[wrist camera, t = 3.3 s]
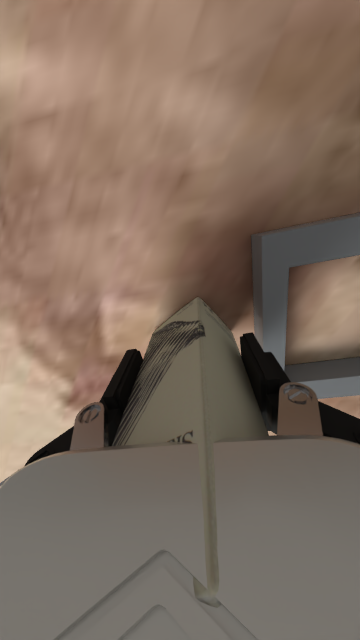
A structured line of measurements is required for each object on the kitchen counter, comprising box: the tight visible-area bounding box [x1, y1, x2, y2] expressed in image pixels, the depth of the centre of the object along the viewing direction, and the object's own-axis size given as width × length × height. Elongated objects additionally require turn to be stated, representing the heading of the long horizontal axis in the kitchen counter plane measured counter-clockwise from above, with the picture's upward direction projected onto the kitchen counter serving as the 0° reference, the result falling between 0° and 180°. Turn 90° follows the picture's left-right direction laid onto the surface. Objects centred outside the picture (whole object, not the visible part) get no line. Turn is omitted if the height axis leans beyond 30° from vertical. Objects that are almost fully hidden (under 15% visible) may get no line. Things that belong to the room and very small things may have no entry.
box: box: [112, 297, 269, 608], centre depth 10 cm, size 5×4×13 cm
